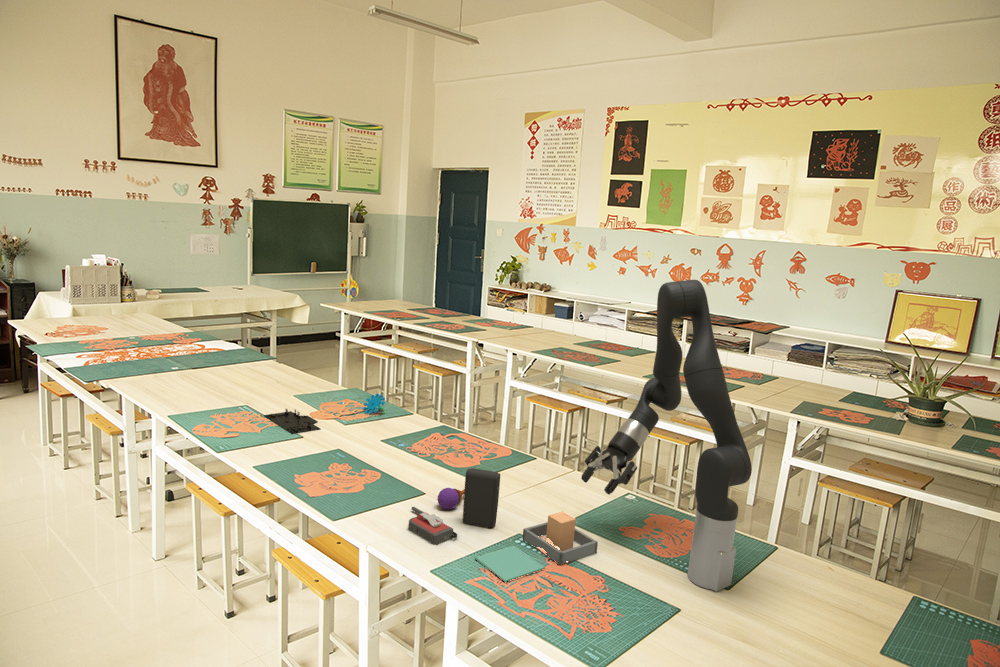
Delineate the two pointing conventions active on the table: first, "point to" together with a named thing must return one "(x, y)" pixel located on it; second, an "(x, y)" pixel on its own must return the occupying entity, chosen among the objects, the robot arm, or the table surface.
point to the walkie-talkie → (430, 527)
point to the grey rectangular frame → (531, 536)
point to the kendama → (449, 497)
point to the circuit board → (293, 422)
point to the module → (561, 530)
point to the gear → (374, 404)
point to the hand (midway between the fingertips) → (594, 486)
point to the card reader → (481, 497)
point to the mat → (509, 563)
